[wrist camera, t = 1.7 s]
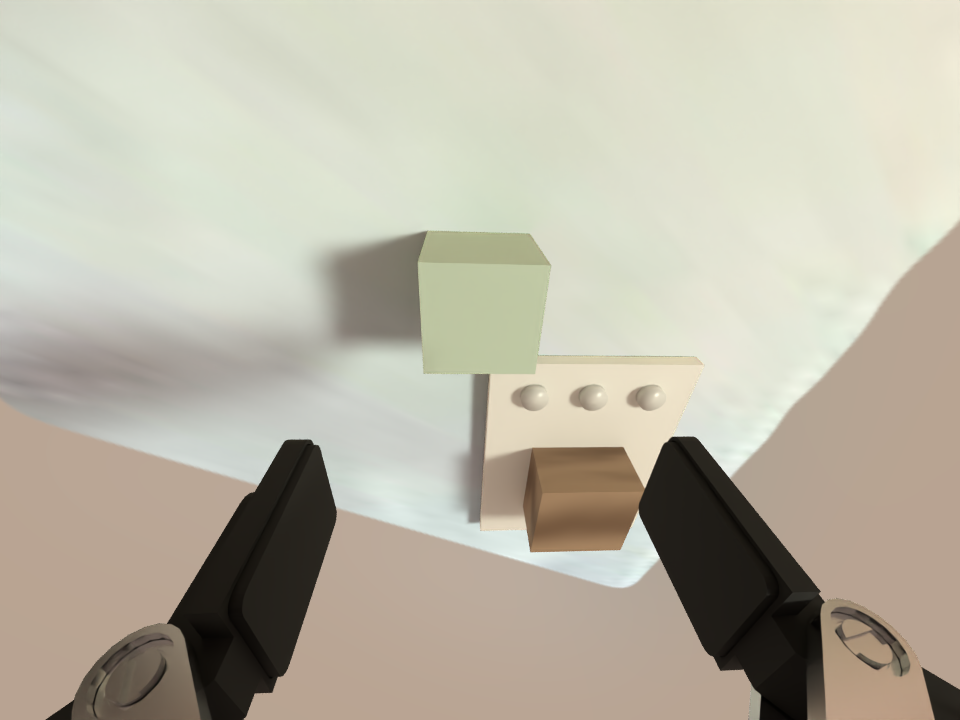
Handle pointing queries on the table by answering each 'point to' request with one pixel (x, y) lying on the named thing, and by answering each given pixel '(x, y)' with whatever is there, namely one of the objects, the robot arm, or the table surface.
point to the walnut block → (580, 498)
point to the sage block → (481, 302)
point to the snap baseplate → (578, 419)
